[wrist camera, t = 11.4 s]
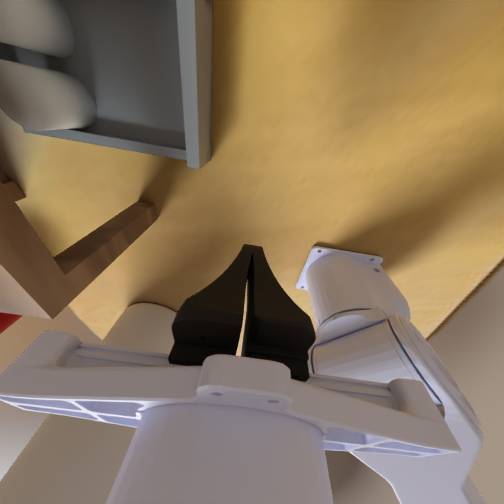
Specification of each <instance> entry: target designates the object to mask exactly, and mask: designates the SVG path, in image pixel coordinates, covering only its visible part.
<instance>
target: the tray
mask: <svg viewBox="0 0 504 504" xmlns="http://www.w3.org/2000/svg"><path fill="white" fill-rule="evenodd" d="M0 108H1V109H2V110H3V111H4V112H5V113H6V114H7V115H8V116H9V117H10V118H11V119H12V120H14V121H15V122H17V123H18V124H20V125H21V126H22V127H23V129H24V131H25V132H27V133H33V134H39V135H44V136H50V137H56V138H61V139H67V140H73V141H79V142H84V143H90V144H96V145H101V146H107V147H113V148H118V149H124V150H130V151H136V152H141V153H147V154H153V155H158V156H164V157H170V158H175V159H181V160H187V167H190V168H196V169H200V168H201V167H202V166H204V165H205V164H206V163H207V162H209V161H210V160H211V109H212V0H0Z"/></svg>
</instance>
